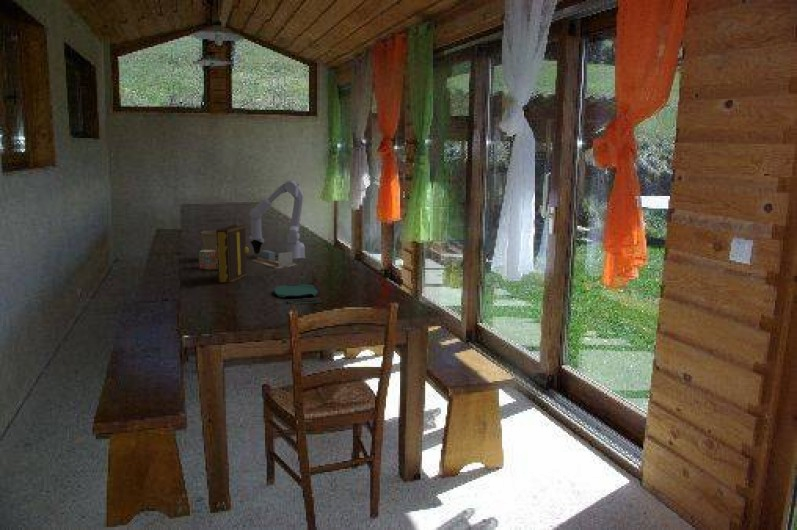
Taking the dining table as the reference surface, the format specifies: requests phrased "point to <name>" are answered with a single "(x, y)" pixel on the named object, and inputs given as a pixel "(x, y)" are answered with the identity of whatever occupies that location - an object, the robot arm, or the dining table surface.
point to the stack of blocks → (208, 259)
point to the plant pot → (209, 239)
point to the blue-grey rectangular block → (267, 255)
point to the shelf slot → (278, 261)
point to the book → (231, 253)
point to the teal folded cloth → (297, 293)
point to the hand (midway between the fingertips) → (257, 253)
